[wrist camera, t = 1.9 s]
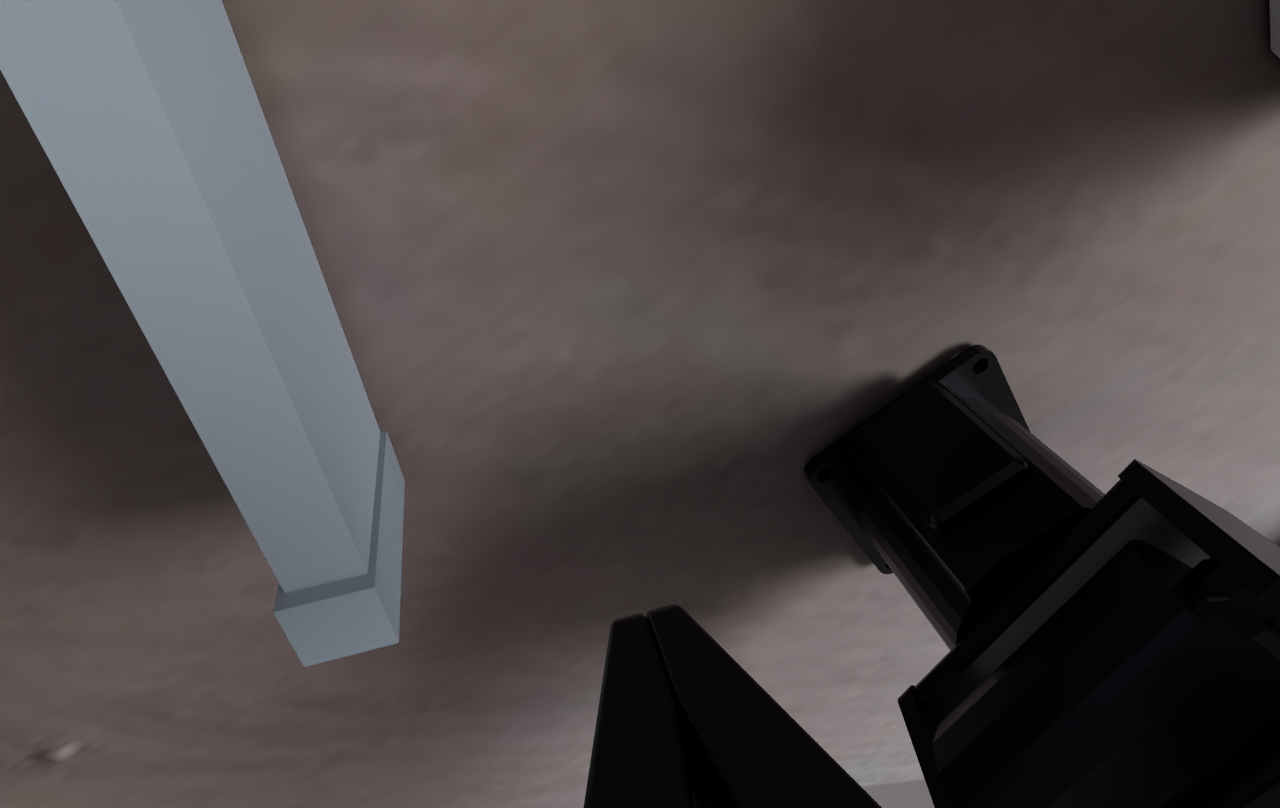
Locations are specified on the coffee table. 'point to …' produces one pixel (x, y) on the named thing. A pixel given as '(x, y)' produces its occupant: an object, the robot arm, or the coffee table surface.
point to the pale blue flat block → (222, 290)
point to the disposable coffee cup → (1275, 26)
